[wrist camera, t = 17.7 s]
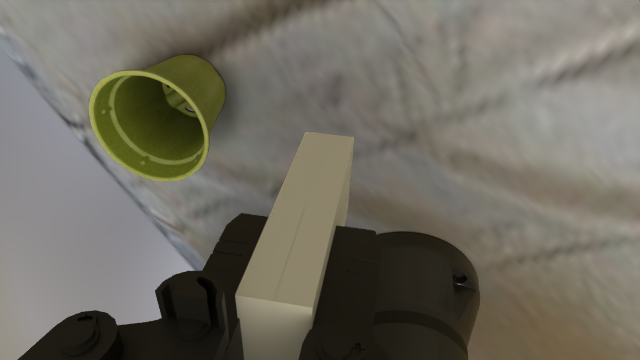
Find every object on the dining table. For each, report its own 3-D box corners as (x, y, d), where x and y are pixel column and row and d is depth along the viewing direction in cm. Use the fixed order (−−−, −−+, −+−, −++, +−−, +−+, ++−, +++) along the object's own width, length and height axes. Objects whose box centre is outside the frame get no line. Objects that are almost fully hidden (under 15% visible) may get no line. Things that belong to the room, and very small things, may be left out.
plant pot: (142, 22, 39) (80, 57, 32) (248, 47, 39) (209, 88, 32) (147, 118, 44) (96, 165, 37) (240, 141, 44) (206, 194, 37)
